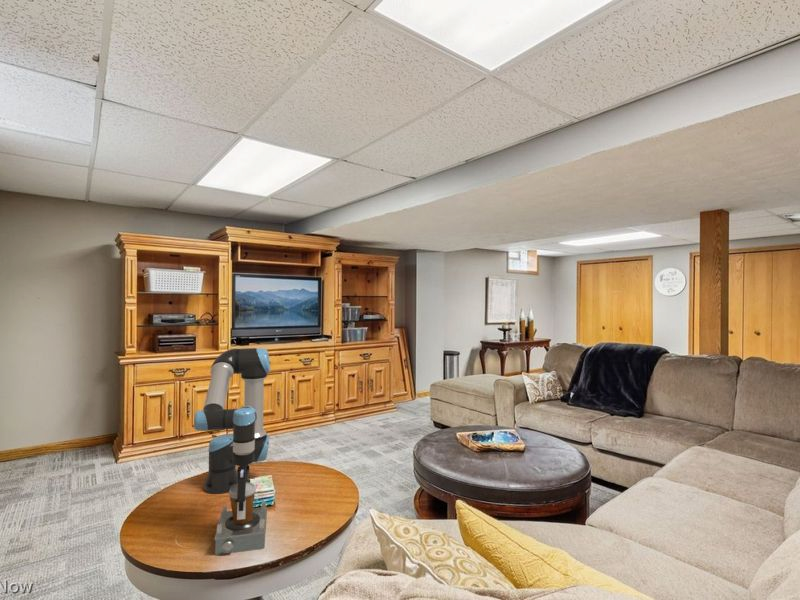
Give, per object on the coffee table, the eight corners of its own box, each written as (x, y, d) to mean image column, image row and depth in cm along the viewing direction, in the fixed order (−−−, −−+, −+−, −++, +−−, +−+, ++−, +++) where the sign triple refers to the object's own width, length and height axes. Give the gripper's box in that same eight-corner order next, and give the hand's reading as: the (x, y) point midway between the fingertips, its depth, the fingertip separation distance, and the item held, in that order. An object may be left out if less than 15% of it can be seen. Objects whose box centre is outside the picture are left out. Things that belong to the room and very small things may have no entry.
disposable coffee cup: (255, 524, 153) (255, 491, 153) (227, 528, 150) (226, 494, 150) (257, 512, 162) (256, 480, 162) (230, 516, 160) (229, 483, 160)
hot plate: (221, 527, 163) (221, 504, 163) (267, 522, 167) (267, 499, 167) (213, 557, 144) (214, 530, 144) (265, 550, 149) (265, 524, 149)
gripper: (236, 441, 167) (235, 495, 167) (228, 465, 143) (227, 528, 143) (256, 440, 169) (255, 493, 169) (252, 463, 145) (251, 525, 145)
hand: (242, 509), depth 156 cm, fingers open, 13 cm apart
